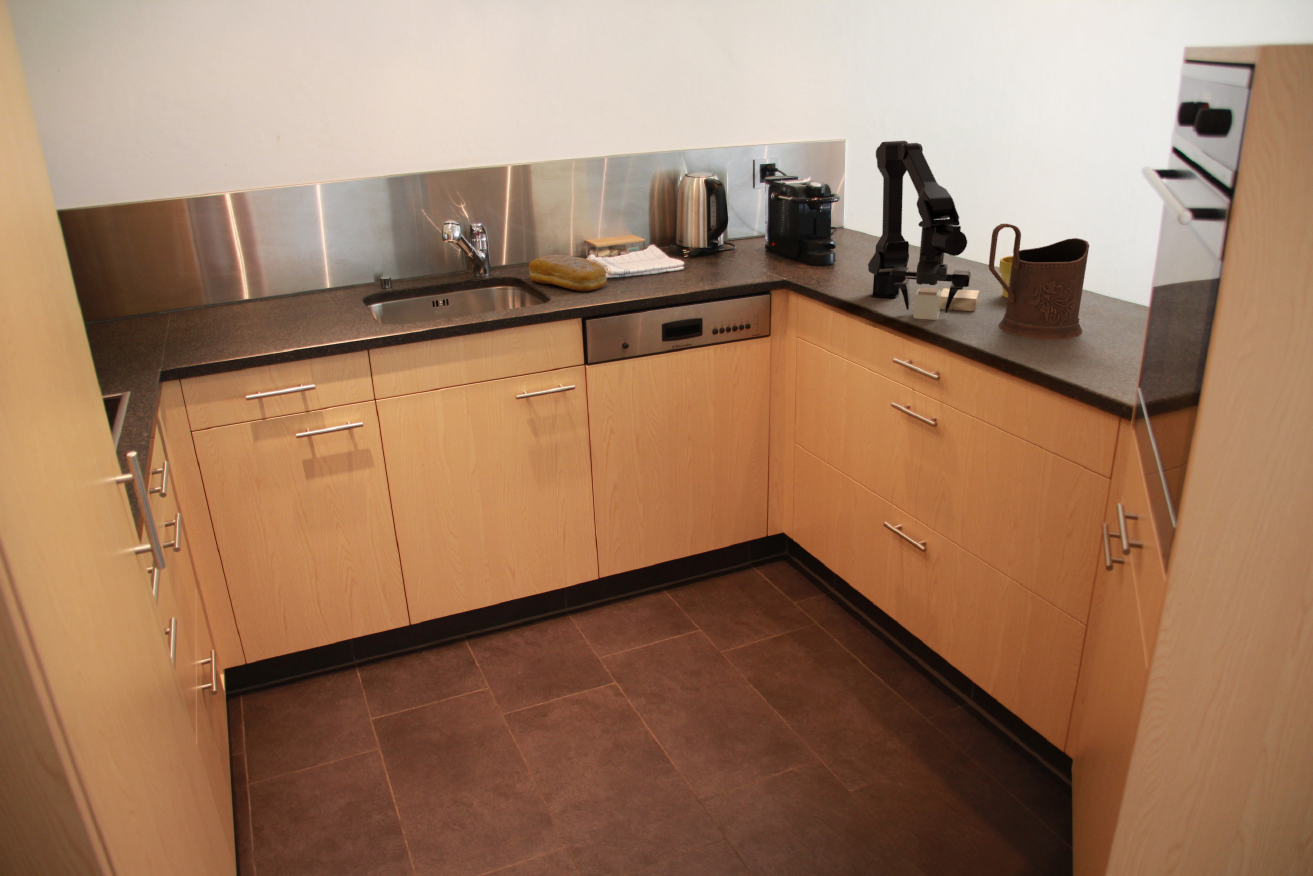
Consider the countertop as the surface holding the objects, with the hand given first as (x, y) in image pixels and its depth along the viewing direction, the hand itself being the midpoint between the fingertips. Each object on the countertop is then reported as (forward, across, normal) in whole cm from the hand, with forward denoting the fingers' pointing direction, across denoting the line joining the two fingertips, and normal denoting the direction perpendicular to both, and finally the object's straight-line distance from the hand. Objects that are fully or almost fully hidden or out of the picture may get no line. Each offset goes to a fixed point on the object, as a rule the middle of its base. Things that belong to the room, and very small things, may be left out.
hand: (926, 310), depth 230 cm
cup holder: (+2, +24, -5) cm, 25 cm away
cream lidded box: (+1, 0, 0) cm, 1 cm away
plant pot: (+1, +20, +26) cm, 33 cm away
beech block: (+2, +6, +12) cm, 14 cm away
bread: (+2, -102, +6) cm, 102 cm away
